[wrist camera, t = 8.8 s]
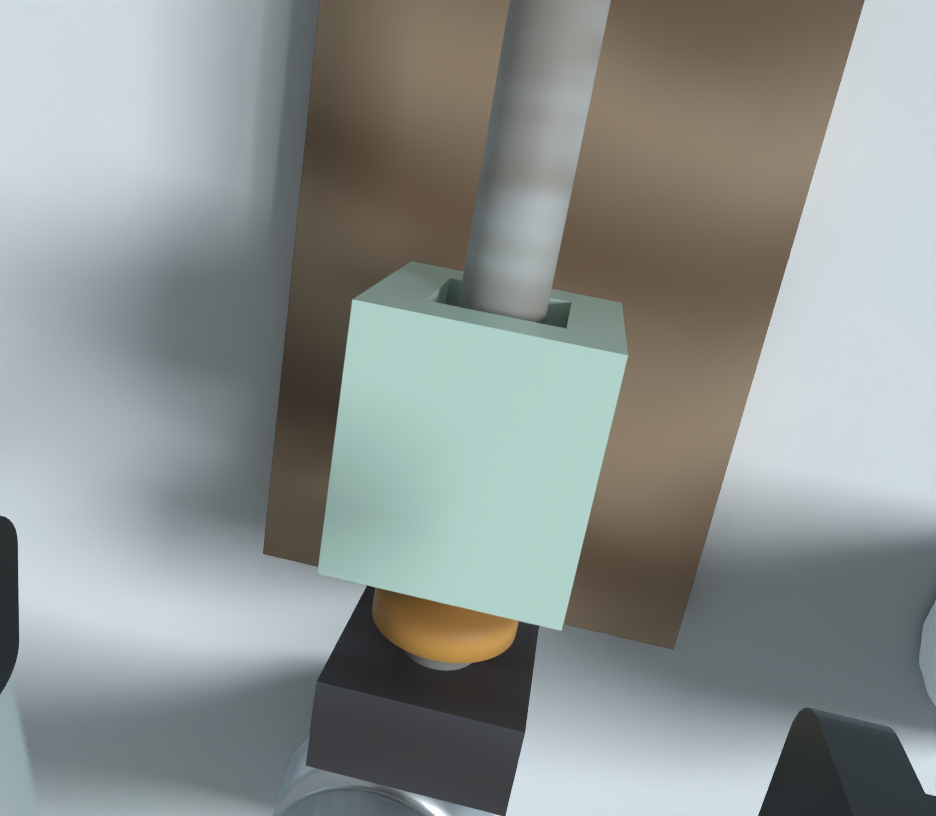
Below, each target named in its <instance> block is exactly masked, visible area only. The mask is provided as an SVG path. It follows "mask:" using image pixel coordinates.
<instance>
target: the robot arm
mask: <svg viewBox="0 0 936 816" xmlns="http://www.w3.org/2000/svg"><path fill="white" fill-rule="evenodd" d="M18 648H19V605H18V541H17V533H16V529H15V527H14V525H13V523H12V522H11V521H10V520H9V519H7V518H6V517H3V516H0V694H1V692H2V691H3V689H4V687H5V686H6V684H7V682H8V680H9V678H10V676H11V673H12V671H13V668H14V666H15V662H16V659H17V655H18ZM758 816H936V796H932V795H928V794H925V792H924V790H923V788H922V786H921V784H920V782H919V780H918V778H917V776H916V774H915V771H914V769H913V767H912V765H911V763H910V761H909V759H908V757H907V755H906V753H905V751H904V749H903V746H902V744H901V742H900V740H899V738H898V737H897V735H896V733H895V732H894V731H893V730H892V729H891V728H889V727H887V726H883V725H878V724H874V723H870V722H866V721H861V720H857V719H853V718H849V717H844V716H840V715H836V714H832V713H827V712H823V711H819V710H815V709H810V708H804V709H802V710H801V711H800V712H799V713H798V714H797V716H796V717H795V719H794V721H793V723H792V725H791V728H790V730H789V733H788V736H787V739H786V741H785V744H784V747H783V749H782V752H781V755H780V758H779V760H778V763H777V766H776V769H775V771H774V774H773V777H772V780H771V782H770V785H769V788H768V790H767V793H766V796H765V799H764V801H763V804H762V807H761V810H760V812H759V815H758Z"/></svg>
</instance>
